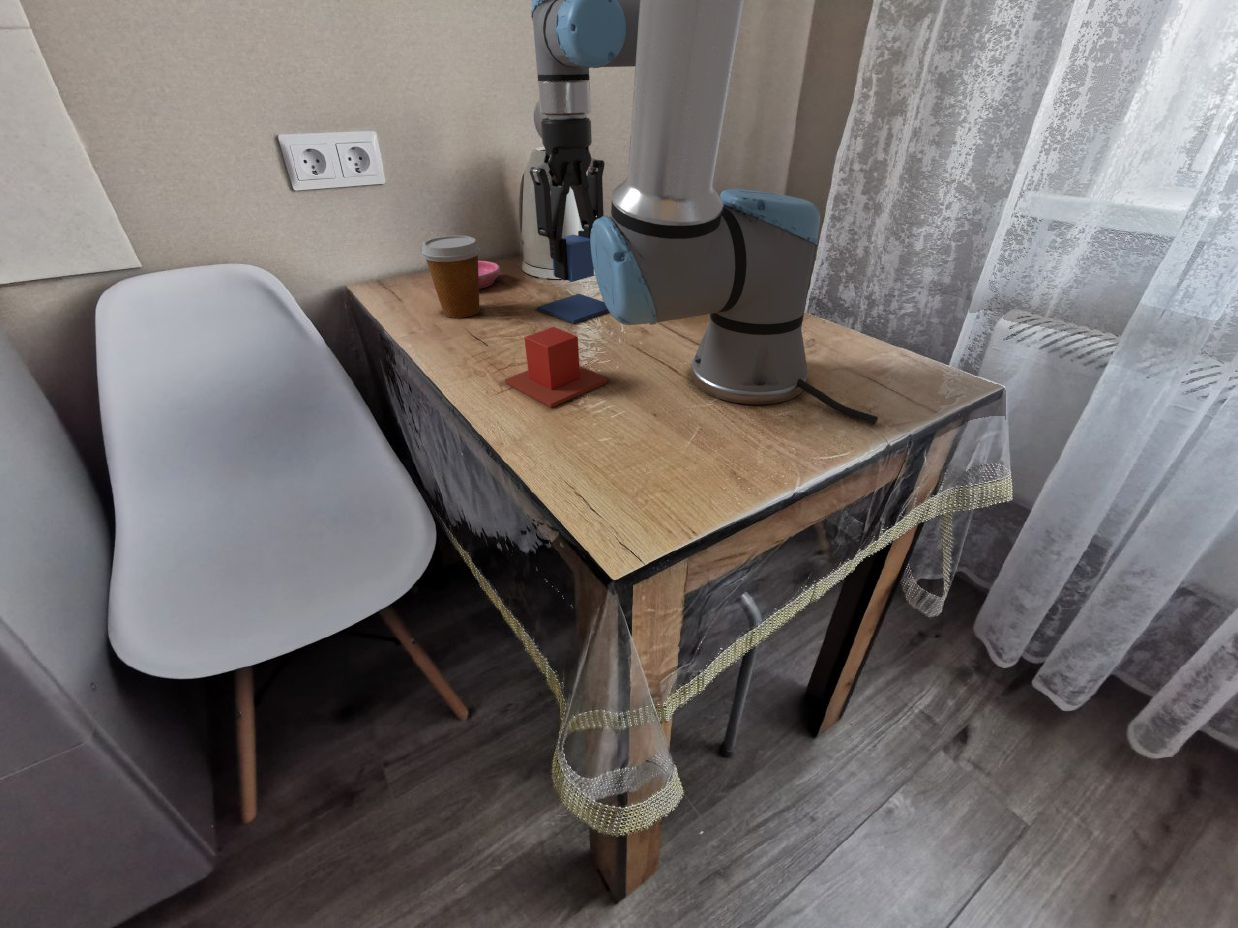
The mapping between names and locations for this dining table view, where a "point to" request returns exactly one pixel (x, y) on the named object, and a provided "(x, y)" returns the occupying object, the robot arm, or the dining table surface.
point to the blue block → (578, 258)
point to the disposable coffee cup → (454, 273)
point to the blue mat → (574, 308)
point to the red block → (552, 357)
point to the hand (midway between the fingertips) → (574, 274)
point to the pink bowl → (487, 273)
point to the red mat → (559, 394)
